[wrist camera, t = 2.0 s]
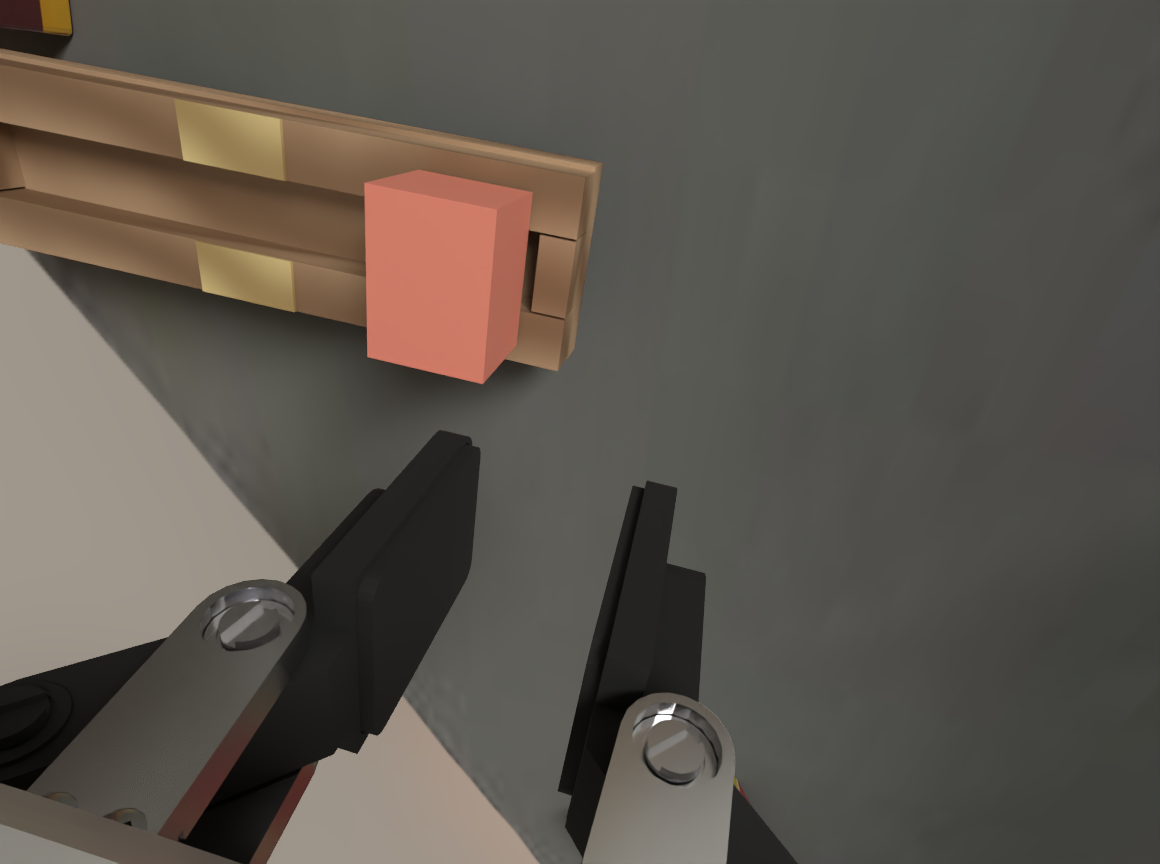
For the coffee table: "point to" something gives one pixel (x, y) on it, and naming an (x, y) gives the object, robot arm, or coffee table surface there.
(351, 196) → the beam
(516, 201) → the block
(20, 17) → the supplement box
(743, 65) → the coffee table surface
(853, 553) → the coffee table surface
